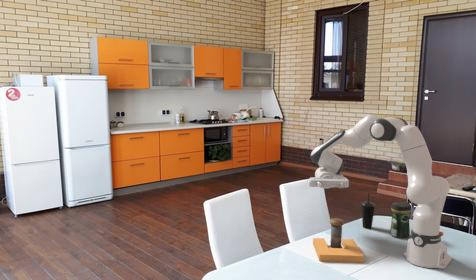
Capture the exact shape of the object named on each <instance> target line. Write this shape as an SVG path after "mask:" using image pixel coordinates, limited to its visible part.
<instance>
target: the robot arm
mask: <svg viewBox="0 0 476 280" xmlns="http://www.w3.org/2000/svg"><path fill="white" fill-rule="evenodd" d="M408 123H409V122H407V121H406V120H405V119H403V118H400V117H383V118H379V117H378V116H377V115H374V114H367V115H366V116H365V117H362V118H361V119H360V120H359V121H357V123H355V125H353V127H351V128H349V129H341V130H340V131H338V132H336V133H335V134H333V135H332V136H331V137H329V138H328V139H326V140H325V141H324V142H323V143H321V144H319V145H317V146H316V147H315V148H314V149H313V150H312V151H311V153H310V159H311V162H312V163H314V164H316V165H318V166H320V167H318V168H317V169H316V170H315V172H314V177H313V176H311V177H309V179H306V180H307V183H308V186H309V187H310V188H311V187H312V188H322V189H330V188H338V189H343V188H346V189H347V188H349V186H350V180H349V179H348V178H347V177H345V176H344V175H343V173H342V174H341V172H342V171H343V169H344V161H343V159H342V158H341V157H339V156H338V155H337V154H334V153H333V152H331V151H330V150H331V149H332V148H334V147H335V146H337V145H344V146H348V147H351V148H356V149H359V148H364V147H365V146H367V145H368V144H369V143H370V142H371V141H372V140H375V141H377V142H378V141H379V142H392V141H394V142H396V143H397V144H398V146H399V150H400V152H401V156H402V158H403V162H404V163H405V167H406V171H407V173H406V174H407V188H406V197H407V199H408V200H409V201H410V202H411V203H412V204H414V205H416V208H415V209H414V211H413V214H412V215H413V216H412V228H411V230H410V238H408V240H407V245H406V251H404V252H403V256H404V257H405V258H406V260H407V262H409V263H410V264H413V265H415V266H416V267H417V266H418V267H422V268H427V269H433V268H434V269H443V270H445V269H446V268H447V267H448V266H449V264H450V262H451V261H452V260H453V256H452V255H450V254H449V253H448V245H446V244H445V243H444V242H443V241H442V237H443V236H444V232H443V231H440V229H441V218H442V213H443V210H444V206H445V202H446V199H447V197H448V194H449V192H450V189H451V187H450V183H449V182H448V180H447V179H446V178H444V177H442V176H437V175H433V171H432V170H433V168H432V167H433V159H432V156H431V154H430V151H429V148H428V145H427V143H426V140H425V138H424V136H423V134H422V132H421V130H420V129H419V127H418V126H417V125H413V124H408Z"/></svg>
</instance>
